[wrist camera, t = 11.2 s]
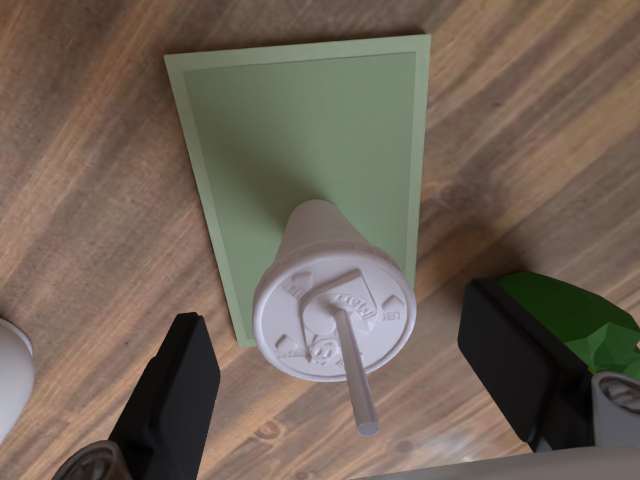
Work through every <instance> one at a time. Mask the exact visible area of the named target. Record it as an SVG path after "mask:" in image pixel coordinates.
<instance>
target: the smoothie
mask: <svg viewBox="0 0 640 480" xmlns="http://www.w3.org/2000/svg"><path fill="white" fill-rule="evenodd" d="M416 311H417V309H416V300H415V295H414V292H413V290H412V287H411V285H410V284H409V282H408V279H407V277H406V276H405V274H404V272H403V270H402V269H401V267H400V265H399V264H398V263H397V262H396V261H395V260H394V259H393V258H392V257H391V256H390V255H388V254H387V253H386V252H385V251H384V250H382V249H380V248H378V247H375V246H373V245H371V244H370V243H369V242H368V241H367V240H366V239H365V238H364V237H363V236H362V235H361V234H360V232H359V231H358V230H357V229H356V228H355V227H354V226H353V225H352V224H351V223H350V222H349V220H348V219H347V218H346V217H345V216H344V215H343V214H342V213H341V212H340V211H339V209H338V208H337V207H336V206H334V205H333V204H332V203H330V202H328V201H325V200H320V199H313V200H308V201H305V202H303V203H301V204H300V205H298V206H297V207H296V208H295V209H294V210H293V212H292V213H291V215H290V218H289V220H288V223H287V226H286V229H285V232H284V234H283V237H282V240H281V243H280V245H279V248H278V251H277V254H276V257H275V259H274V262H273V264H272V265H271V266H270V267H269V268H268V269H267V270H266V271H265V272H264V274H263V275H262V277H261V279H260V281H259V283H258V285H257V287H256V289H255V292H254V298H253V303H252V318H251V326H252V333H253V337H254V340H255V342H256V344H257V346H258V348H259V350H260V351H261V353H262V354H263V355H264V357H265V358H266V359H267V360H268V361H269V362H270V363H271V364H273V365H274V366H275V367H277V368H278V369H280V370H281V371H283V372H285V373H287V374H289V375H292V376H294V377H297V378H301V379H304V380H308V381H317V382H338V381H343V380H347V382H348V387H349V391H350V396H351V401H352V406H353V411H354V416H355V421H356V426H357V431H358V433H359V434H360V435H362V436H372V435H374V434H376V433H377V432H378V431H379V430H380V425H379V421H378V418H377V414H376V410H375V407H374V403H373V399H372V396H371V392H370V388H369V385H368V381H367V377H366V374H367V373H370V372H372V371H374V370H376V369H378V368H379V367H381V366H382V365H384V364H385V363H387V362H388V361H389V360H390V359H392V358H393V357H394V356H395V355H396V354H397V353H398V352H399V351H400V350H401V348H402V347H403V346H404V345H405V343H406V342H407V340H408V338H409V336H410V335H411V332H412V330H413V327H414V324H415V320H416Z"/></svg>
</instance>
